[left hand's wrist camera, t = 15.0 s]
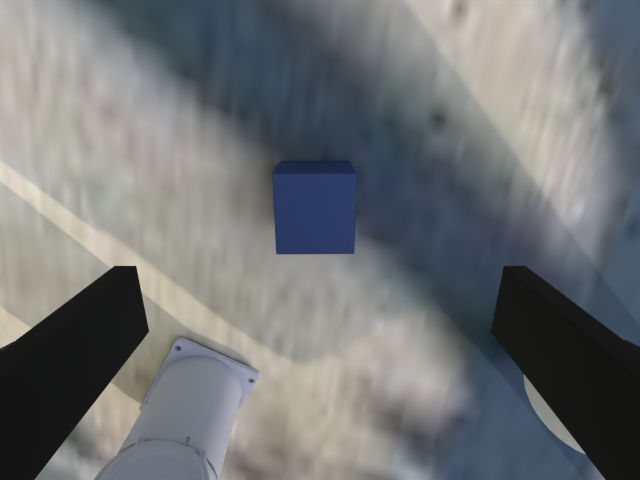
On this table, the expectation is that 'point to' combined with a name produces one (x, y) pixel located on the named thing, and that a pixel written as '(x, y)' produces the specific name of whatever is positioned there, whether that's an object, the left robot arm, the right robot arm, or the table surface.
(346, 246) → the block
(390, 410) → the table surface
